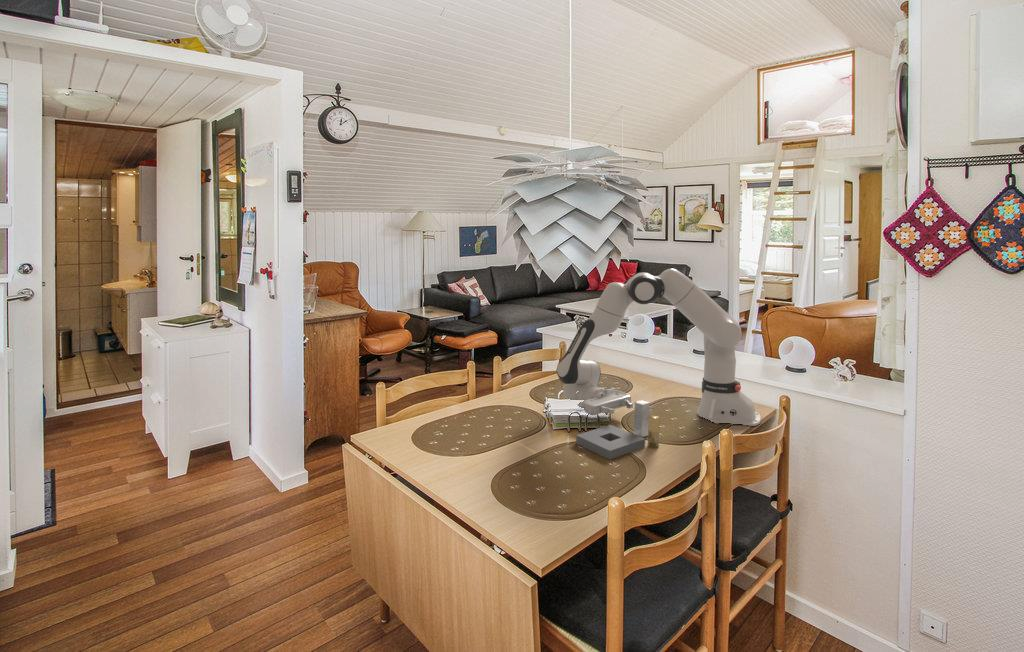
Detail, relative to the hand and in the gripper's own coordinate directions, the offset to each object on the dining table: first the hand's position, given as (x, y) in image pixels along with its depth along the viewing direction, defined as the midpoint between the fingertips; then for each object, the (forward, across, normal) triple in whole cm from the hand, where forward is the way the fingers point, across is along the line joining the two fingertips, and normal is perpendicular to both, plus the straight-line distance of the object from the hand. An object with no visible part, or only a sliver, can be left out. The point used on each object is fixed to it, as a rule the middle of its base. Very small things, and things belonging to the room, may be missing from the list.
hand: (622, 408), depth 204 cm
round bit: (+18, -4, +7) cm, 20 cm away
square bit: (+9, 0, +7) cm, 12 cm away
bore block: (+9, -15, +7) cm, 19 cm away
